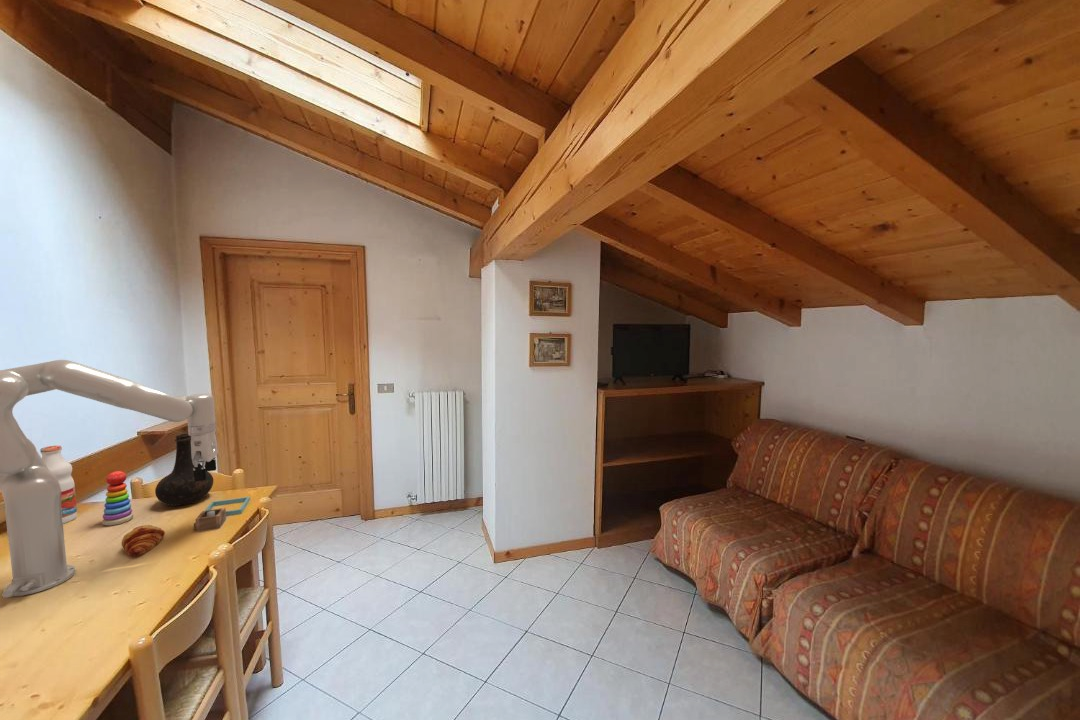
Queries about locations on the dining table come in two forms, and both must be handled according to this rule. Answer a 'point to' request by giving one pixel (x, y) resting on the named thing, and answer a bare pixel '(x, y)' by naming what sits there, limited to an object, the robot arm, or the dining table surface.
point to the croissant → (142, 539)
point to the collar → (210, 520)
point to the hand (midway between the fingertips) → (205, 475)
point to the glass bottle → (182, 478)
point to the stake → (212, 513)
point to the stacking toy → (117, 500)
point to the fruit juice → (62, 480)
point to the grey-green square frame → (231, 501)
